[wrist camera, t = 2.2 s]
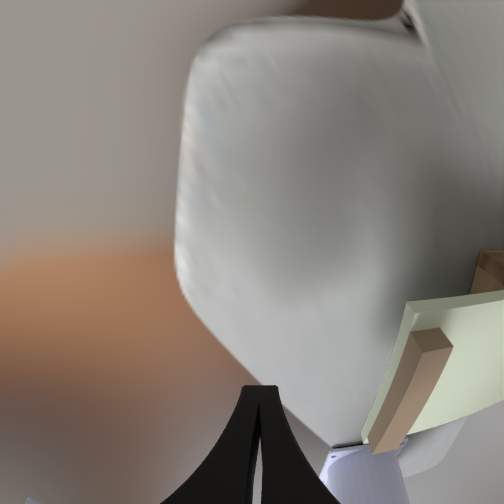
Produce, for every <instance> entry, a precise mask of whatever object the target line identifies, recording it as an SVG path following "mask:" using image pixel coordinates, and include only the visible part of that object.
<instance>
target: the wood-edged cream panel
mask: <svg viewBox="0 0 504 504" xmlns="http://www.w3.org/2000/svg"><path fill="white" fill-rule="evenodd" d="M502 400H504V290H500V291H493V292H486V293H479V294H471V295H464V296H455V297H447V298H438V299H428V300H418V301H407V302H406V305H405V309H404V313H403V317H402V321H401V324H400V328H399V332H398V335H397V338H396V342H395V345H394V348H393V351H392V354H391V357H390V361H389V363H388V366H387V369H386V372H385V375H384V378H383V380H382V383H381V386H380V388H379V391H378V394H377V396H376V399H375V401H374V404H373V406H372V408H371V411H370V413H369V415H368V418H367V420H366V422H365V424H364V427H363V429H362V431H361V437H362V441H363V444H366V443H369V446H370V450H371V454H372V455H374V454H378V453H383V452H388V451H392V450H396V449H397V448H398V447H399V446H400V444H401V443H402V441H403V440H404V438H405V437H406V435H408V434H412V433H416V432H419V431H423V430H426V429H430V428H433V427H436V426H439V425H442V424H445V423H448V422H451V421H454V420H457V419H459V418H462V417H465V416H467V415H470V414H472V413H475V412H477V411H479V410H482V409H484V408H486V407H488V406H491V405H493V404H495V403H497V402H499V401H502Z"/></svg>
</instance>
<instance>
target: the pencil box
mask: <svg viewBox="0 0 504 504" xmlns="http://www.w3.org/2000/svg"><path fill="white" fill-rule="evenodd" d="M500 290H504V250H480V254H479V259H478V263H477V267H476V271H475V275H474V279H473V282H472V286H471V289H470V293H469V295H471V294H479V293H486V292H493V291H500Z"/></svg>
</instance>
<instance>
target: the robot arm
mask: <svg viewBox="0 0 504 504" xmlns="http://www.w3.org/2000/svg"><path fill="white" fill-rule="evenodd" d="M260 439H261V451H262V466H263V472H262V494H261V495H262V496H261V504H410V503H409V499H408V495H407V491H406V487H405V484H404V480H403V476H402V472H401V469H400V465H399V462H398V458H397V455H398V454H399V453H400V451H401V450H402V448H403V447H404V446H405V444H406V443H407V441H408V440H409V438H408V436H406V437H405V438H404V440H403V441H402V443H401V444H400V446H399V447H398V448H397V449H396V450H392V451H388V452H383V453H378V454H374V455H372V454H371V450H370V446H369V444H365V445H359V446H353V447H346V448H338V449H332V450H330V451H329V453H328V456H327V458H326V461H325V463H324V466H323V468H322V470H321V473H320V475H319V477H318V476H317V474H316V473H315V471H314V470H313V468H312V467H311V466H310V464H309V462H308V461H307V459H306V458H305V456H304V454H303V452H302V451H301V449H300V447H299V445H298V443H297V441H296V439H295V437H294V435H293V433H292V431H291V429H290V426H289V424H288V421H287V419H286V416H285V413H284V410H283V407H282V404H281V400H280V396H279V391H278V387H277V386H276V385H259V386H258V385H245V386H243V387H242V390H241V394H240V397H239V399H238V402H237V405H236V407H235V409H234V412H233V414H232V416H231V418H230V420H229V422H228V424H227V426H226V428H225V429H224V431H223V433H222V434H221V436H220V438H219V439H218V441H217V443H216V444H215V446H214V447H213V449H212V450H211V451H210V453H209V454H208V456H207V457H206V458H205V460H204V461H203V462H202V464H201V465H200V466H199V467H198V468H197V469H196V470H195V472H194V473H193V474H192V475H191V476H190V477H189V478H188V479H187V480H186V481H185V483H183V484H182V485H181V486H180V487H179V488H178V489H177V490H176V491H175V492H174V493H173V494H171V495H170V496H169V497H168V498H167V499H165V500H164V501H163V502H162V503H160V504H252V498H253V497H252V496H253V481H254V474H255V468H256V461H257V455H258V448H259V440H260ZM25 504H39V503H38V502H36V501H34V500H33V499H31V498H30V497H28V498H27V500H26V503H25Z"/></svg>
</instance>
